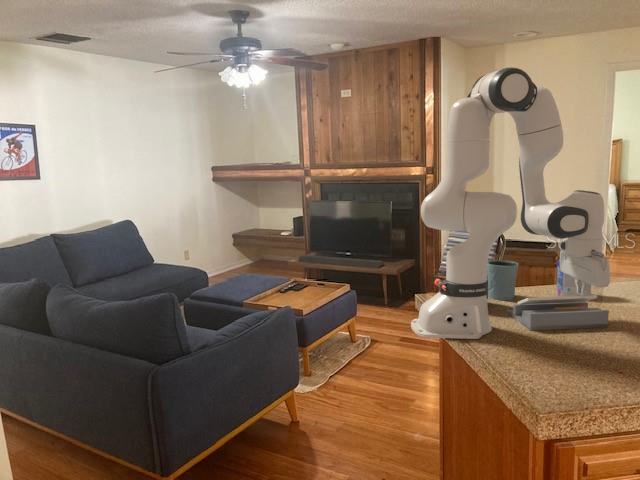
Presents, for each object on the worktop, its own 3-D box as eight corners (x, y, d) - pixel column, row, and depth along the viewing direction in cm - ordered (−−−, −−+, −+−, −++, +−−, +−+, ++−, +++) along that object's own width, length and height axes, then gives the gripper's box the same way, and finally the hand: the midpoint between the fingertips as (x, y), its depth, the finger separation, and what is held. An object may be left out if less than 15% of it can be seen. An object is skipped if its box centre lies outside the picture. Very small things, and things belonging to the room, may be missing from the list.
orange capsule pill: (549, 307, 150) (550, 317, 150) (554, 307, 147) (555, 318, 147) (585, 306, 151) (587, 316, 150) (591, 306, 148) (592, 316, 147)
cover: (528, 300, 145) (527, 297, 145) (517, 304, 152) (517, 301, 152) (597, 297, 145) (597, 295, 145) (583, 302, 153) (583, 299, 153)
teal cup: (480, 294, 179) (481, 261, 177) (504, 291, 182) (505, 258, 180) (498, 302, 169) (499, 267, 167) (523, 298, 172) (525, 264, 170)
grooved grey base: (530, 330, 142) (530, 313, 141) (507, 312, 158) (508, 298, 157) (607, 327, 142) (609, 310, 141) (577, 310, 158) (578, 295, 157)
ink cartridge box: (583, 293, 177) (585, 252, 174) (591, 297, 171) (594, 255, 169) (555, 293, 177) (556, 253, 175) (562, 298, 171) (564, 256, 169)
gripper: (618, 254, 134) (615, 304, 136) (576, 241, 154) (574, 285, 156) (594, 255, 133) (591, 305, 136) (556, 241, 154) (554, 286, 156)
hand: (582, 294), depth 146 cm, fingers closed
